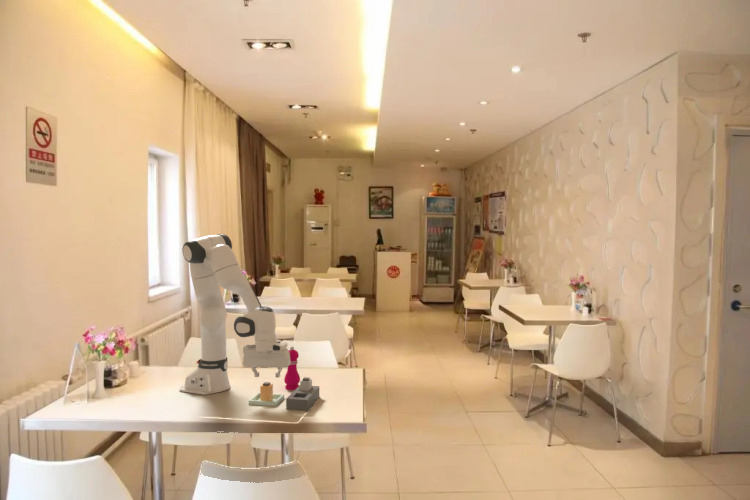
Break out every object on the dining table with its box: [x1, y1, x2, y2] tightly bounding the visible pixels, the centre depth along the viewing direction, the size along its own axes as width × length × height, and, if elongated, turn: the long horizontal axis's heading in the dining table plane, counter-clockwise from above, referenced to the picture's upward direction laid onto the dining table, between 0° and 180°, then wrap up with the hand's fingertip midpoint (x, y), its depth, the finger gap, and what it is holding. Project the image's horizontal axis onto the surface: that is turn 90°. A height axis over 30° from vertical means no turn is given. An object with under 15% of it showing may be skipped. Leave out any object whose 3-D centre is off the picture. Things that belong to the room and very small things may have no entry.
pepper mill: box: [283, 346, 301, 391], centre depth 231 cm, size 7×7×20 cm
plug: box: [259, 381, 274, 401], centre depth 213 cm, size 4×4×8 cm
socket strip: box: [285, 384, 320, 413], centre depth 212 cm, size 9×18×5 cm, turn 171°
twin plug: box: [299, 376, 313, 391], centre depth 216 cm, size 4×4×8 cm
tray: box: [248, 392, 285, 407], centre depth 213 cm, size 12×10×2 cm
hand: (267, 376), depth 213 cm, fingers open, 8 cm apart
